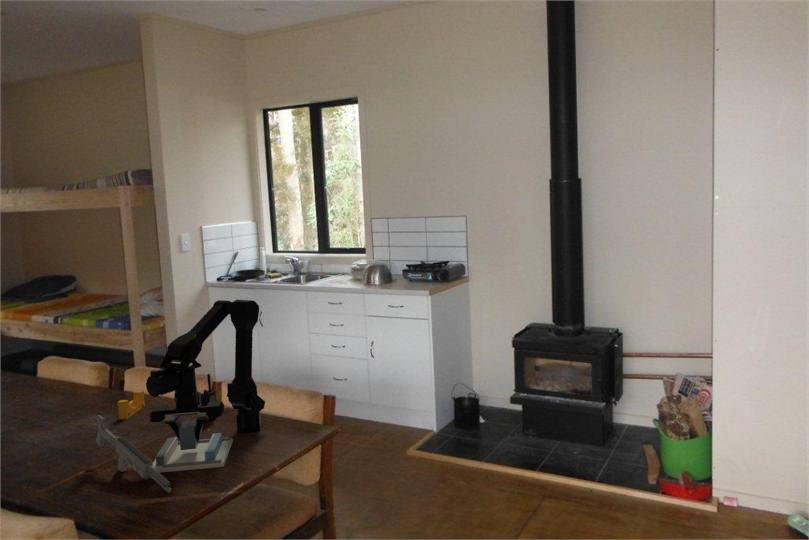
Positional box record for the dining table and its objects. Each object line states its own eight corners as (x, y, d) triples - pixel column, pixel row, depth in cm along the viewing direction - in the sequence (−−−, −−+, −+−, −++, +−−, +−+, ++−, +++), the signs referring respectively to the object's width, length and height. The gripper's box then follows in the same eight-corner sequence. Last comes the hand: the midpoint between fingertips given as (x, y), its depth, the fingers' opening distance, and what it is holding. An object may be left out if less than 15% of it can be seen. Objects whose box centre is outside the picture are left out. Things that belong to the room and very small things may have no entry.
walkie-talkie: (210, 423, 207) (206, 377, 206) (201, 422, 208) (197, 376, 207) (218, 418, 212) (215, 373, 210) (210, 417, 213) (206, 372, 211)
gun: (176, 510, 161) (178, 475, 159) (163, 515, 159) (165, 480, 156) (105, 444, 183) (105, 412, 180) (92, 448, 180) (93, 416, 177)
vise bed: (232, 441, 191) (231, 430, 190) (223, 466, 173) (222, 454, 172) (165, 447, 188) (164, 435, 188) (148, 473, 171) (147, 460, 170)
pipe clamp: (133, 408, 226) (131, 390, 225) (145, 408, 226) (143, 390, 225) (114, 421, 214) (112, 401, 214) (126, 420, 214) (125, 401, 213)
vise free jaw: (222, 441, 188) (222, 432, 188) (214, 460, 174) (213, 451, 174) (213, 442, 188) (213, 433, 188) (205, 461, 174) (204, 452, 174)
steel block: (199, 440, 183) (198, 420, 183) (195, 448, 177) (194, 427, 177) (185, 442, 183) (183, 421, 182) (180, 450, 177) (178, 428, 176)
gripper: (224, 375, 187) (229, 428, 189) (157, 381, 185) (162, 434, 187) (218, 387, 176) (223, 442, 178) (146, 392, 174) (152, 449, 176)
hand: (190, 441), depth 180 cm, fingers closed on steel block, 4 cm apart
